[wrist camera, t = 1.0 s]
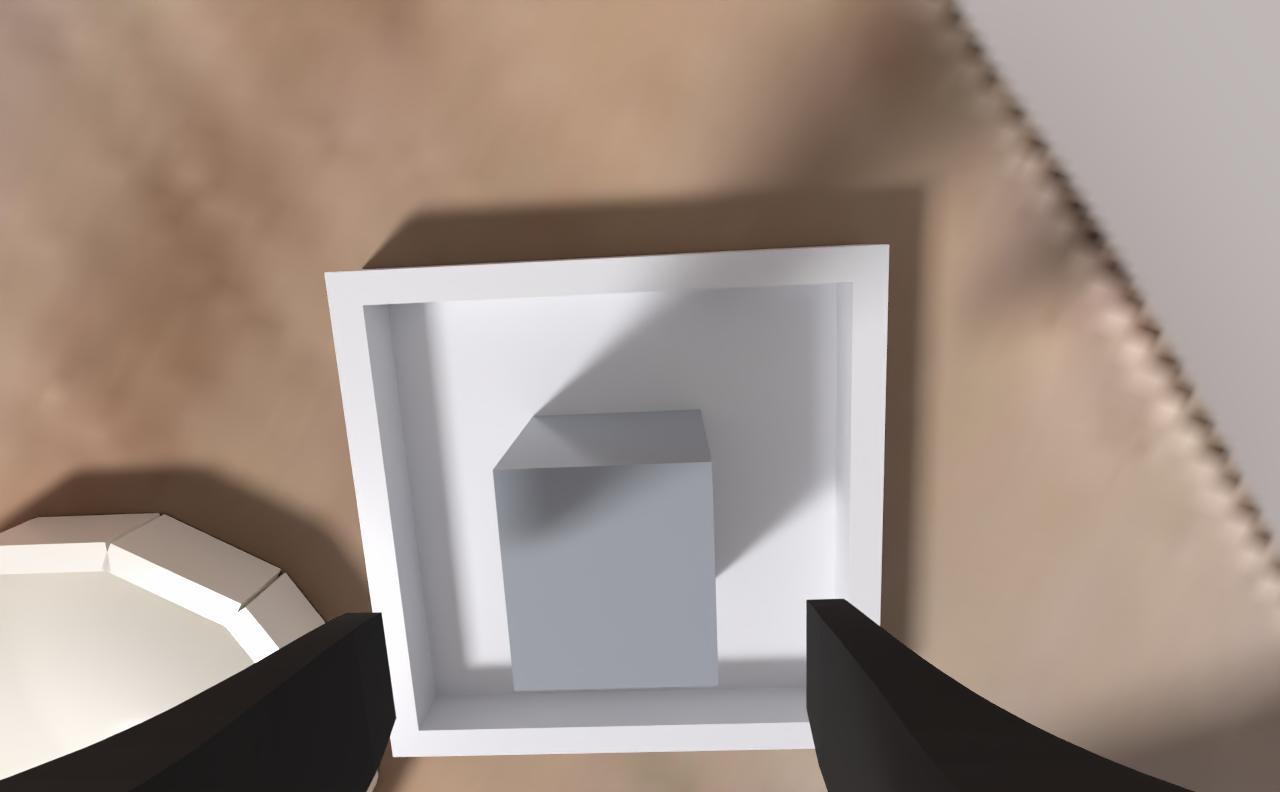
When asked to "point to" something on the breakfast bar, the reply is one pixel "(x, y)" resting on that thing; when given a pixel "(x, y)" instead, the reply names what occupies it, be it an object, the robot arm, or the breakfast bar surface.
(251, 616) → the bowl
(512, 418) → the parts tray
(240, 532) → the breakfast bar surface
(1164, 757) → the breakfast bar surface
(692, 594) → the block
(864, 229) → the breakfast bar surface
